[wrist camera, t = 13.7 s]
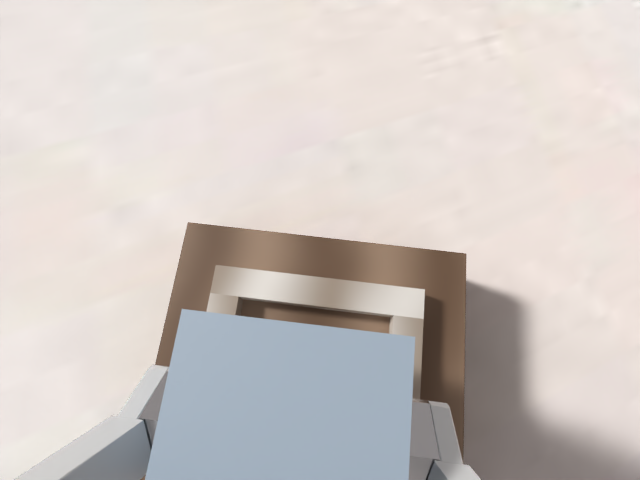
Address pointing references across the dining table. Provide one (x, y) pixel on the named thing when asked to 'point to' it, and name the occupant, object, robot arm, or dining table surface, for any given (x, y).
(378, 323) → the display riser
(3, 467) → the dining table surface
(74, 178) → the dining table surface
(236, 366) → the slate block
